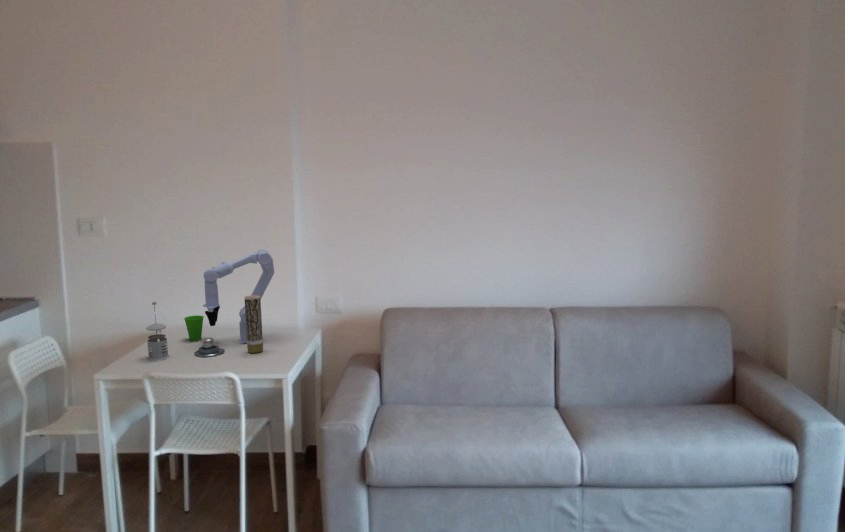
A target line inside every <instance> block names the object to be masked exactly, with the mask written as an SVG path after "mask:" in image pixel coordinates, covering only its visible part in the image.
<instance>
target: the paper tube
mask: <svg viewBox="0 0 845 532" xmlns="http://www.w3.org/2000/svg"><path fill="white" fill-rule="evenodd" d="M261 300H262V298H261V299H260V296H258V295H252V294H251V295H246V296H244V306H245V316H246V333H247V343H246V345H247V352H248V353H249V354H259V353H262V352H263V351H264V343H263V341H264V339H263V338H264V337H263V323H262V322H263V321H262V320H263V319H262V301H261Z"/></svg>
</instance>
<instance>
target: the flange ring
mask: <svg viewBox="0 0 845 532" xmlns="http://www.w3.org/2000/svg"><path fill="white" fill-rule="evenodd" d="M225 351H226V350H225V348H221V347H220V345H216V344H214V349H208V350H205V349H203V345H202V346H199V348H198V350H196V351H195V352H193V356H194V355H195V357H196V356H197V358H213V356H214V357H218V356H221V355H223V354H224V353H225ZM220 354H221V355H220ZM217 355H218V356H217Z"/></svg>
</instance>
